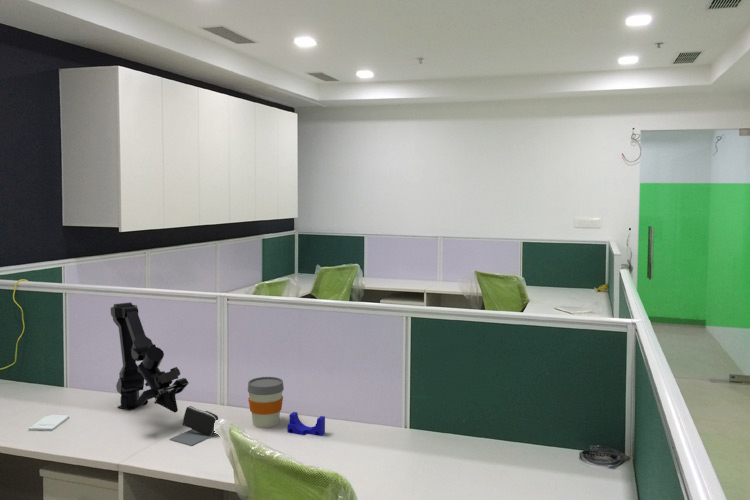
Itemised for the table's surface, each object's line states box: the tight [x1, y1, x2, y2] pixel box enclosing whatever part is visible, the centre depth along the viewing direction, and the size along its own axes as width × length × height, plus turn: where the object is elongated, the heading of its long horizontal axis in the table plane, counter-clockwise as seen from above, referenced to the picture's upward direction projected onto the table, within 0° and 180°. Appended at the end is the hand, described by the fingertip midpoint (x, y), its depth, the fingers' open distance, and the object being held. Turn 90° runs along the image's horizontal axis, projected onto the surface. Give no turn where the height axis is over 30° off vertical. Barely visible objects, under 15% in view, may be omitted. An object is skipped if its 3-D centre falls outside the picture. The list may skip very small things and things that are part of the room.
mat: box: [168, 428, 217, 447], centre depth 221 cm, size 10×14×1 cm
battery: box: [181, 405, 219, 435], centre depth 223 cm, size 7×4×11 cm
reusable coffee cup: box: [247, 376, 284, 429], centre depth 233 cm, size 13×13×15 cm
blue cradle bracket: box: [286, 411, 326, 437], centre depth 224 cm, size 12×4×6 cm, turn 69°
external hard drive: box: [27, 414, 70, 432], centre depth 230 cm, size 2×8×12 cm
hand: (176, 411), depth 225 cm, fingers closed
